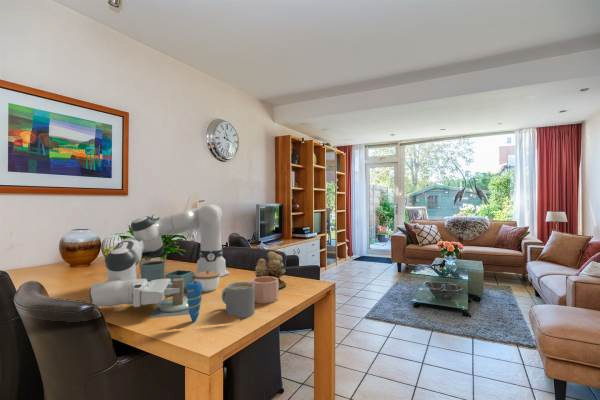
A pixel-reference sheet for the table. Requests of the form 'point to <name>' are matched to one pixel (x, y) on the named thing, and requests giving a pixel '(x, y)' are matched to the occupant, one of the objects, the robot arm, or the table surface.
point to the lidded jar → (208, 280)
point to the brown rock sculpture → (271, 268)
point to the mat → (159, 313)
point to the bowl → (265, 289)
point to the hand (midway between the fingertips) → (180, 288)
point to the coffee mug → (239, 299)
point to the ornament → (194, 298)
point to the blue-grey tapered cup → (152, 270)
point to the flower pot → (181, 276)
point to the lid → (176, 299)
